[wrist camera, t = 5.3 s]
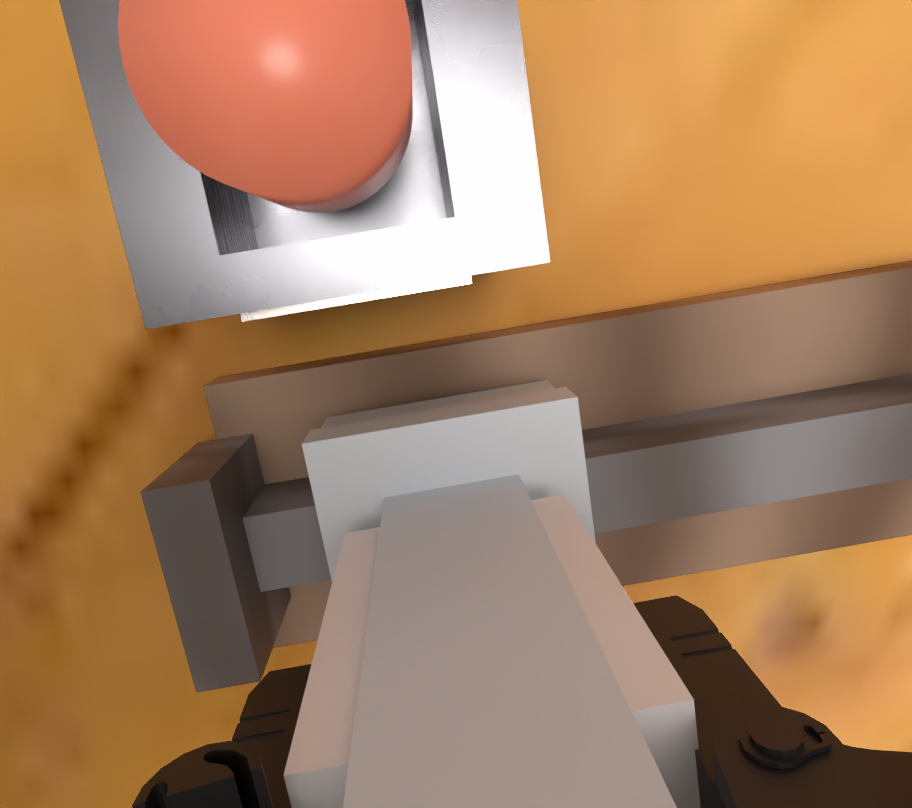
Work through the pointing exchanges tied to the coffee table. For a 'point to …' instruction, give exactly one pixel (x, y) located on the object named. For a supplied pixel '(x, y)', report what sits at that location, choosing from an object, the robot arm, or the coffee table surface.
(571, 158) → the coffee table surface
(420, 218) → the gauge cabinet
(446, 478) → the carriage
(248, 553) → the slide rail
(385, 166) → the button
